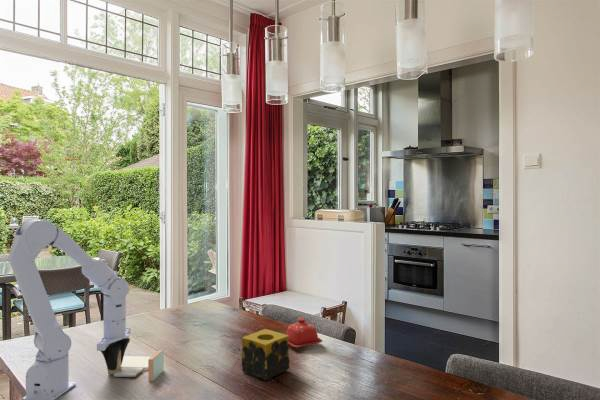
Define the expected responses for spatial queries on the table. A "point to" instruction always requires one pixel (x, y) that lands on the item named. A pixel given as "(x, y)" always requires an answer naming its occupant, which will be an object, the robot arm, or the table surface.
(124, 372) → the grey plate tan block
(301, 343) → the butter dish
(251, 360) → the candle
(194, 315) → the table surface
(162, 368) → the tile
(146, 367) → the trivet
